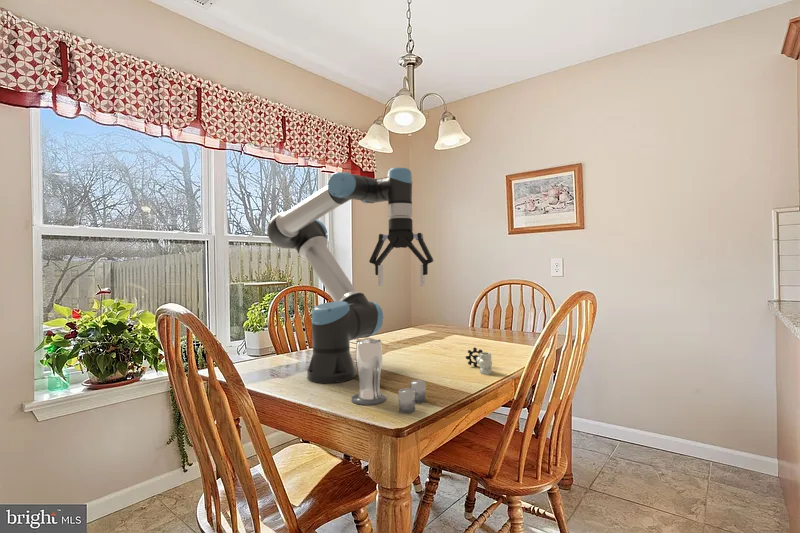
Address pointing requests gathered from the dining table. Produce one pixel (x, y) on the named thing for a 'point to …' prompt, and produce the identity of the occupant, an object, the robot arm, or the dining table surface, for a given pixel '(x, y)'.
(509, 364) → the dining table surface
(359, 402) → the coaster
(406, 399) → the cylinder
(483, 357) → the valve
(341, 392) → the dining table surface
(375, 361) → the beer glass
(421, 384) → the cylinder
